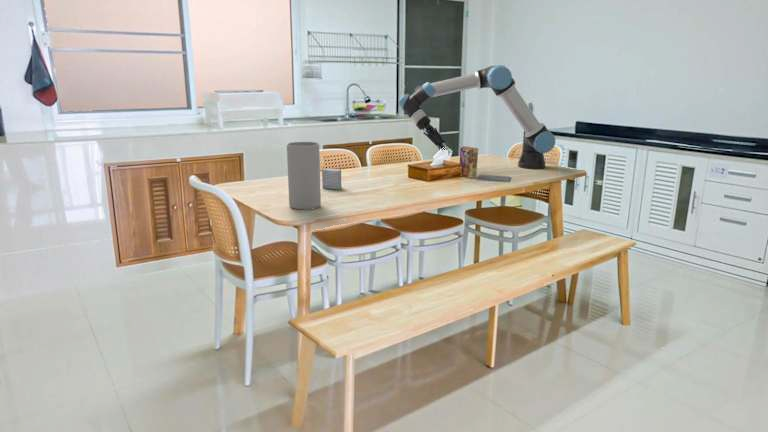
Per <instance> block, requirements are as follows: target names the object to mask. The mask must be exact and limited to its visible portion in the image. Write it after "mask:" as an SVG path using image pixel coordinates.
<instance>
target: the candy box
mask: <svg viewBox="0 0 768 432" xmlns="http://www.w3.org/2000/svg"><path fill="white" fill-rule="evenodd" d="M459 149H460V152H459V165H460V164H461V165H462V169H461V175H460V176H459V177H463V178H469V179H477V172H478V161H479V159H478V157H479V148H477V147H472V146H465V145H464V146H460V147H459Z"/></svg>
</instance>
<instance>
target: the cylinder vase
mask: <svg viewBox="0 0 768 432" xmlns="http://www.w3.org/2000/svg"><path fill="white" fill-rule="evenodd" d="M286 159H287V161H286V162H287V181H288V182H287V183H288V204H289V207H290V208H292V209H293V208H295V209H294V210H299V209H308V210H313V209H312V208H315V209H317V208H319V207H321V205H322V204H321V203H322V200H321V196H322V195H321V165H320V164H321V163H320V160H321V157H320V143H319V142H313V141H295V142H294V141H293V142H288V143H286Z"/></svg>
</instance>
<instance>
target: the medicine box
mask: <svg viewBox="0 0 768 432" xmlns="http://www.w3.org/2000/svg"><path fill="white" fill-rule="evenodd" d="M321 178H322V179H321V180H322V181H321V182H322V189H326V188H330V189H329V190H339V189H341V188H342V170H341V169H338V168H337V169H336V168H324V169H322V170H321Z"/></svg>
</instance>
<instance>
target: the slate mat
mask: <svg viewBox="0 0 768 432" xmlns="http://www.w3.org/2000/svg"><path fill="white" fill-rule="evenodd" d="M511 179H512V176H506V175H495V174H494V175H493V174H492V175H491V174H490V175H489V174H479V175H478V177H476V180H477V181H478V180H479V181H489V182H490V181H491V182H492V181H493V182H503V183H504V182H505V183H509V182H510V181H511Z"/></svg>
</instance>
